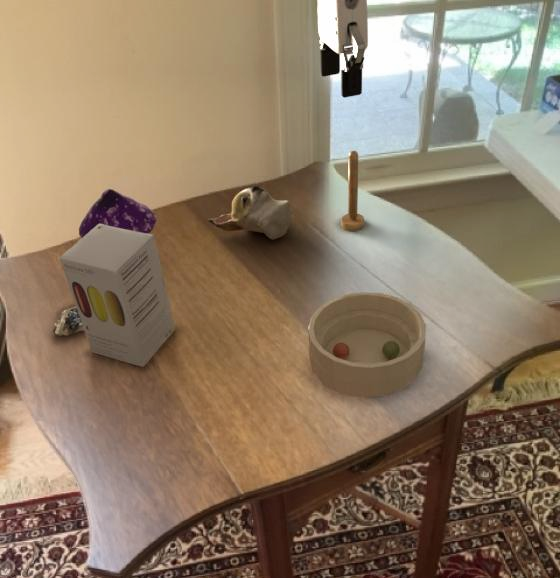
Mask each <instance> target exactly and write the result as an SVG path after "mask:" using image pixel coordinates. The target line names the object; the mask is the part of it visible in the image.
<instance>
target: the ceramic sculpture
mask: <svg viewBox="0 0 560 578" xmlns="http://www.w3.org/2000/svg"><path fill="white" fill-rule="evenodd" d="M291 220H292V205H291V202H290V201H289V200H287V199H284V200H278V199H274V197H272V196H271V194H270V193H269V191H268V190H267V189H266V188H264V187H260V186H258V185H253V186H252V187H247V188H244V189H243V190H241V191H239V192H238V193H237V194H236V195H235V196H234V198H233V199H232V201H231V212H230V213H224V214H221V215H219V216H218V217H215V218H208V219H207V221H208V222H209V223H210V224H212V225H213V226H214V227H215V228H218V229H220V230H222V231H225V232H234V231H242V230H243V231H249V232H255V233H256V232H257V233H263V234H264V235H265V236H266V237H267V238H268V239H270V240H273V241H274V240H276V239H280V238H283V237H284V236H285V234H286V233H287V231H288V229H289V227H290V224H291Z"/></svg>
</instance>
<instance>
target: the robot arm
mask: <svg viewBox="0 0 560 578" xmlns="http://www.w3.org/2000/svg"><path fill="white" fill-rule="evenodd" d="M316 4H317V9H316V11H317V12H316V13H317V30H318V36H319V38H320V40H319V42H318V43H319V45H318V46H319V49H320V50H319V56H320V57H319V63H320V65H319V66H320V68H319V69H320V76H322V77H323V78H324V77H329V76H335V75H339V74H340V89H341V90H340V93H341V94H340V95H341V97H342V98H349V97H354V96H355V97H356V96H361V95H362V93H363V69H364V61H365V51H366V50H367V49H368V45H369V31H368V30H369V29H368V28H369V27H368V25H369V24H368V0H317V3H316ZM348 55H350V57H349V59H348ZM341 63H342V66H343V67H342V68H343V69H341Z"/></svg>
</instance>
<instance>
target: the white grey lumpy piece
mask: <svg viewBox="0 0 560 578" xmlns="http://www.w3.org/2000/svg"><path fill="white" fill-rule="evenodd" d="M59 318H60V320H59V319H57V318H56V320H57V323H56V322H55V323H53V325H54V327H53V328H52V332H51V333H53V334H54V335H56V336H59V337H62V336H63V335H64V337H68V336H70V335H72V334H73V335H75V334H77V333H78V332H80V331H81V332H85V331H84V328H83V325H82V322H81V319H80V316H79V313H78V310H77V307H76V305H75V306H72V307H71V306H70V307H69V308H67V309H65V310H63V311H61V315H60V316H59Z"/></svg>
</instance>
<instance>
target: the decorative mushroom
mask: <svg viewBox="0 0 560 578" xmlns="http://www.w3.org/2000/svg"><path fill="white" fill-rule="evenodd" d="M156 223H157V217H156V213H155V212H154V211H153V210H152V209H151V208H150V207H148V205H146V204H143V203H141V202H139V201H137V200H135V199H134V198H131V197H130V196H128V195H125V194H122V193H120V192H119V191H116V190H114V189H112V188H108V189H105V190H104V191H103V192H102V193H101V196H100V197H99V198H98V199H97V200H96V201H95V202H94V203H93V204H92V206H91V207H90V208H89V210H87V213H86V214H85V216H84V218H83V219H82V221H81V223H80V224H79V227H78V235H79V237H80V239H82V238H83V237H84V236H85V235H86V234H87V233H89V232H90V231H91V230H92V229H93V228H94V227H96V226H97V225H98V224H104V225H108V226H112V227H117V228H121V229H126V230H131V231H136V232H141V233H147V234H151V232H152V231H153V229H154V228H155V226H156Z"/></svg>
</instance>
